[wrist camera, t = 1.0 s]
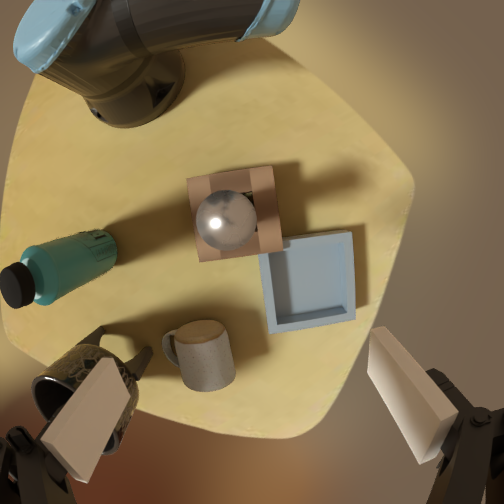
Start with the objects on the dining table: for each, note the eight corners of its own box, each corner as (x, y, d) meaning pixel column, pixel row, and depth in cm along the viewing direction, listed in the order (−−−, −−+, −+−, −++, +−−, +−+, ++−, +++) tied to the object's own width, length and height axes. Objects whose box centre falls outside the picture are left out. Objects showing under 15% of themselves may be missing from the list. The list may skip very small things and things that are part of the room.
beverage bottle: (124, 228, 36) (25, 255, 16) (123, 274, 37) (35, 331, 17) (87, 225, 36) (-13, 248, 16) (88, 268, 37) (-4, 314, 17)
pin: (216, 197, 35) (191, 195, 20) (251, 192, 35) (252, 185, 20) (221, 232, 36) (201, 254, 21) (256, 227, 36) (260, 246, 21)
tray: (256, 241, 36) (256, 244, 33) (344, 229, 36) (351, 231, 33) (267, 324, 38) (268, 334, 35) (348, 311, 38) (355, 319, 35)
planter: (142, 312, 38) (83, 378, 20) (170, 382, 40) (137, 461, 23) (80, 321, 38) (15, 373, 21) (108, 384, 41) (64, 447, 23)
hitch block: (193, 181, 35) (186, 178, 31) (269, 169, 34) (272, 165, 30) (204, 255, 36) (199, 262, 32) (280, 245, 36) (283, 250, 32)
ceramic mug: (228, 313, 38) (221, 339, 30) (238, 361, 39) (234, 392, 32) (158, 320, 38) (139, 344, 31) (172, 366, 40) (158, 394, 32)
